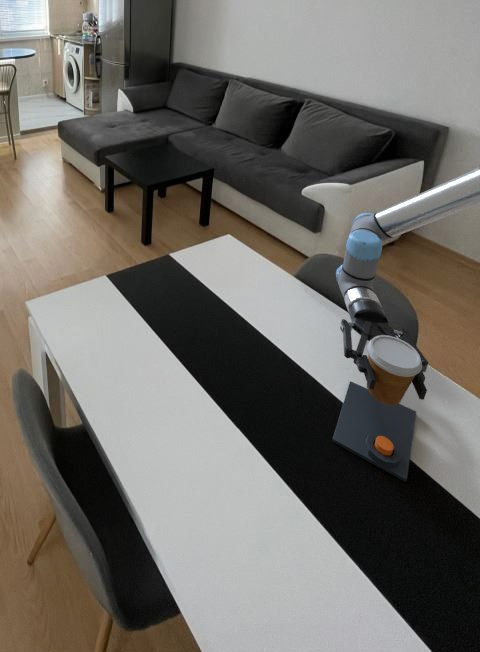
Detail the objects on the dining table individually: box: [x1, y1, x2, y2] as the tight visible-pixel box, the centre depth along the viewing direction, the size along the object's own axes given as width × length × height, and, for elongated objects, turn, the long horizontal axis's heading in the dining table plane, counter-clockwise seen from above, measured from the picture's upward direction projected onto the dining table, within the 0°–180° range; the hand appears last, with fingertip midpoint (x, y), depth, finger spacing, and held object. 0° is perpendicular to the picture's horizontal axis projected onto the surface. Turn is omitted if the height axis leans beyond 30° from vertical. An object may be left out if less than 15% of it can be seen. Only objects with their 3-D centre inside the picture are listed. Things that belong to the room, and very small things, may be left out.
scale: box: [331, 380, 417, 483], centre depth 94 cm, size 18×13×4 cm
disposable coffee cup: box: [366, 335, 422, 405], centre depth 91 cm, size 10×10×12 cm
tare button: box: [375, 436, 394, 456], centre depth 88 cm, size 3×3×2 cm
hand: (397, 389), depth 87 cm, fingers closed on disposable coffee cup, 8 cm apart
